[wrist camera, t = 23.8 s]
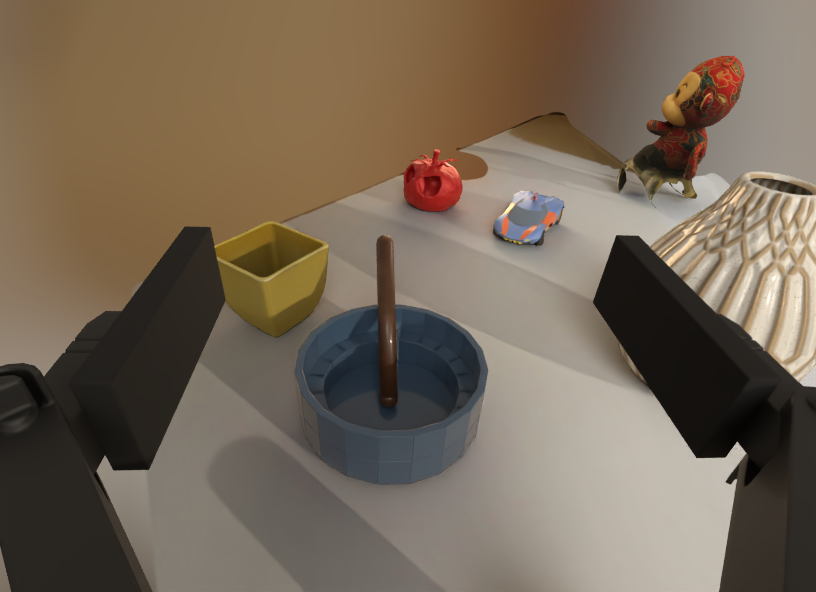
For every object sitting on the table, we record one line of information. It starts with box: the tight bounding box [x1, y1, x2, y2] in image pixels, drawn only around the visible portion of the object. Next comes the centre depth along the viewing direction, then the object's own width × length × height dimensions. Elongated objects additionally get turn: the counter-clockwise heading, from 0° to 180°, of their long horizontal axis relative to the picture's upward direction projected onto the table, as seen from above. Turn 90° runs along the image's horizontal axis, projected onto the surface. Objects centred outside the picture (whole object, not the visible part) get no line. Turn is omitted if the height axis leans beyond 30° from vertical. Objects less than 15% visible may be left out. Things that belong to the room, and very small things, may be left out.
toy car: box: [493, 191, 564, 245], centre depth 70 cm, size 8×15×5 cm, turn 151°
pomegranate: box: [404, 150, 463, 212], centre depth 75 cm, size 10×10×9 cm
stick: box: [376, 235, 398, 408], centre depth 42 cm, size 2×2×16 cm
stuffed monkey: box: [617, 56, 744, 206], centre depth 76 cm, size 15×17×25 cm
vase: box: [617, 172, 816, 385], centre depth 40 cm, size 16×16×20 cm
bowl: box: [295, 305, 488, 484], centre depth 39 cm, size 15×15×6 cm
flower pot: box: [214, 221, 329, 337], centre depth 48 cm, size 9×9×9 cm
